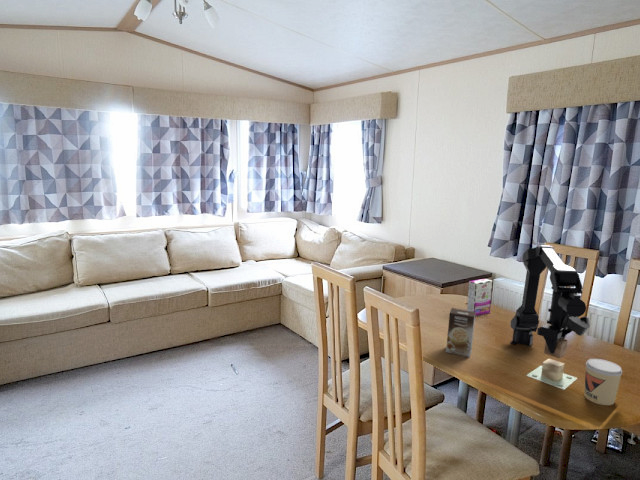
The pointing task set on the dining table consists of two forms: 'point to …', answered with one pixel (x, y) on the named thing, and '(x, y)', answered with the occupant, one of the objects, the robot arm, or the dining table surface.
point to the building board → (562, 383)
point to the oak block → (552, 370)
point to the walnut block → (557, 348)
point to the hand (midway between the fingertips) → (555, 351)
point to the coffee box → (460, 332)
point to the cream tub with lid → (602, 381)
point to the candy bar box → (479, 296)
